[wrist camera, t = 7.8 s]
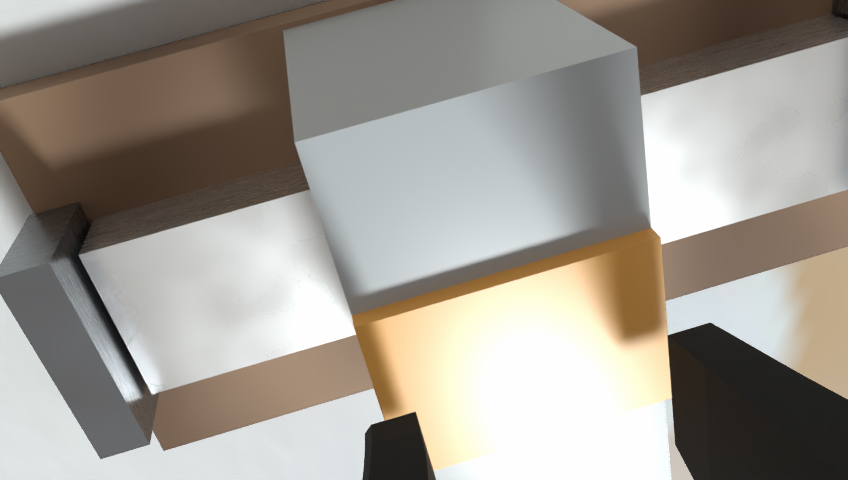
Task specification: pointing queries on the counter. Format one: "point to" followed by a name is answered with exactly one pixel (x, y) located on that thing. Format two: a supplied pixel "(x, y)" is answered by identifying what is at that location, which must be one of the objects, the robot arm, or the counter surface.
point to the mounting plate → (274, 147)
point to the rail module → (492, 230)
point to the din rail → (311, 257)
